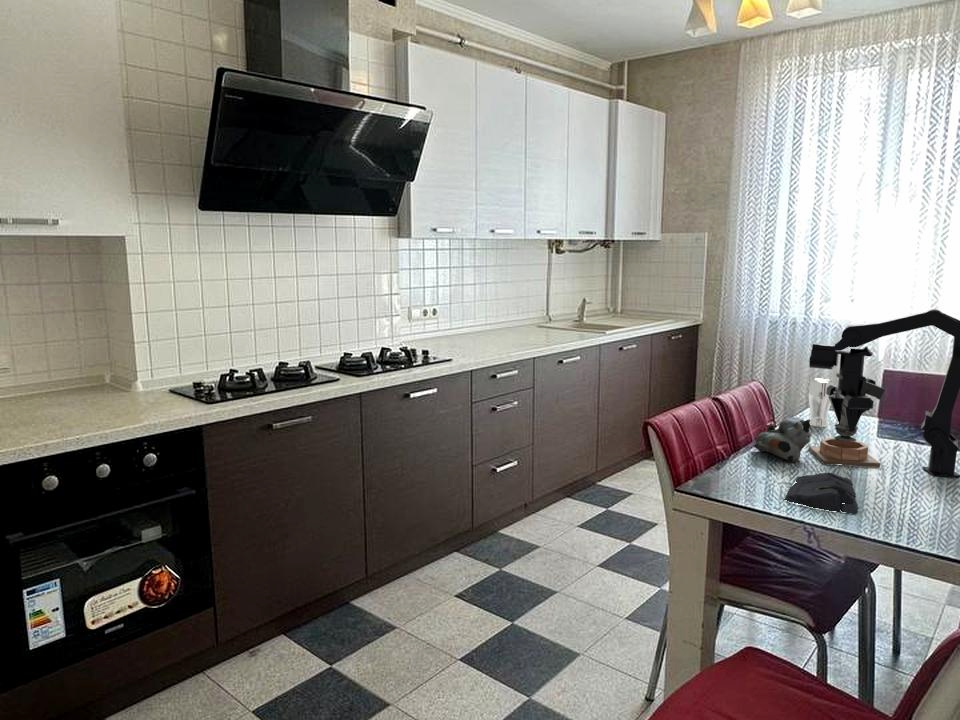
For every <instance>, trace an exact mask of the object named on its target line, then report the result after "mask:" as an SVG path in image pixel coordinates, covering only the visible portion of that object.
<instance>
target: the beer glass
mask: <svg viewBox="0 0 960 720" xmlns="http://www.w3.org/2000/svg"><path fill="white" fill-rule="evenodd" d="M830 385H834V381H833V380H831V379H824V378H812V379H810V384H809V390H808V401H809V402H808V404H809V418H808V420H810V422H809V423H810V427H813V426H814V427H815V428H828V427H829V418H828V417H829V411H830V408H831V406H832V404H831V402H830V400H829V398H828V396H829V395H827V394H826V392H827V387H828V386H830Z"/></svg>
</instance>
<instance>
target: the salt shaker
mask: <svg viewBox="0 0 960 720" xmlns="http://www.w3.org/2000/svg"><path fill="white" fill-rule="evenodd" d="M843 406H845V405H844V401H843V403H842V411H841V412H840V413H841V420H840V423H839V422H838V423H837V424H834V425H833V427H834V429H835V432H836V433H837V434H838V435H836V436H834V437H833V438H835V439H837V440H840V441H846V442H854V441H857V439H856V438H855V437H853V436H855V434H857V431H858V429H859V426H856V428H855V430H854V431H850V430H849V427H848V424H847V420H846V416H845V413H844V409H843Z"/></svg>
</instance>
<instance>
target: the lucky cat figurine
mask: <svg viewBox="0 0 960 720" xmlns="http://www.w3.org/2000/svg"><path fill="white" fill-rule="evenodd" d="M809 422H810V420H809V419H807V420H804V419H803V418H800V417H796V416H795V417H793V416H791V417H787V418H786V419H783V420H782V421H781V422H779V426H778V428H776V429H775V425H774V424H773V423H772V422H770V423H769V424H767V430H766V431H763V432H761V433H759V434H758V435H757V436H756V439H755V443H753V445H752V447H753V448H754V449H756V450H757V451H759V452H765V451H766V452H767V453H770V454H772V455H775V456H777V457H779V458H781V459H783V460H786V461H788V462H789V463H791V464H793V463H796V462H797V461H799V459H800V457H801V452H802V451H803V448H805V446H807V445H808V444H809V443H810V442H811V435H812V431H811V428H810V427H811V426H810V423H809Z"/></svg>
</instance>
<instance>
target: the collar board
mask: <svg viewBox="0 0 960 720" xmlns="http://www.w3.org/2000/svg"><path fill="white" fill-rule="evenodd" d="M819 442H820V443H819V445H818V446H817V445H815V446H814V445H808V451H809V452H810V453H811V454H812V453H813V454H814V455H815V456H816V457H817V458H816V457H815V456H814V455H813V454H812V455H813V456H814V457H815V458H816V459H818V461H820V462H821V463H822V462H823V463H824V464H823V463H822V464H823V465H825V464H842V465H841V466H843V465H852V466H851V467H861V468H881V462H879V461H878V460H877V459H875V458H874V457H873V456H871V455H870V454H869V446H868V445H867V444H865V443H864V442H862V441H857V440H856V441H854V442H846V441H840V440H837V439H835V438H834V437H828V438H823V439H821V440H820V441H819Z"/></svg>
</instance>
